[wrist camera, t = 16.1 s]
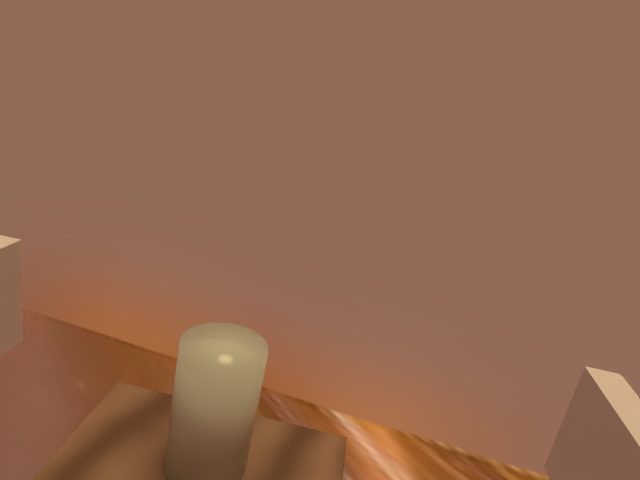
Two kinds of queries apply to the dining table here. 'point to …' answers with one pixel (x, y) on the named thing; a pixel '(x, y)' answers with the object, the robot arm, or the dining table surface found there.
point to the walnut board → (151, 438)
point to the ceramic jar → (214, 402)
